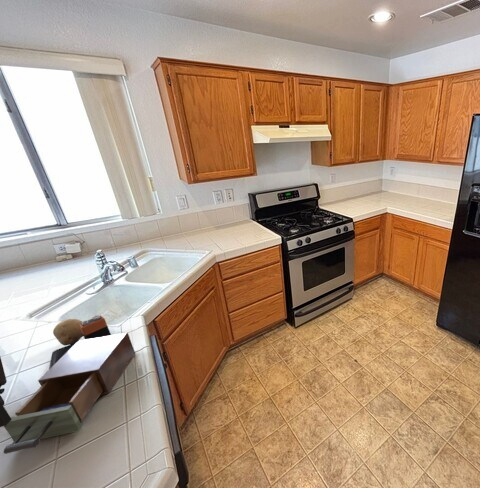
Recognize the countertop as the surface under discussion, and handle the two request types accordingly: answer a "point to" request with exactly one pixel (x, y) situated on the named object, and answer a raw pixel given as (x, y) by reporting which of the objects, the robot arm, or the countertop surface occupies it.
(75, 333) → the natural sponge
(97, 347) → the cabinet
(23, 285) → the countertop surface
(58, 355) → the phone
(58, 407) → the navy blue eraser
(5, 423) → the robot arm
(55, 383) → the drawer
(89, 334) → the battery
